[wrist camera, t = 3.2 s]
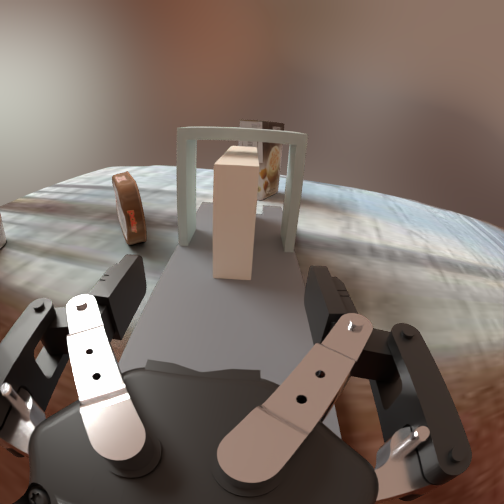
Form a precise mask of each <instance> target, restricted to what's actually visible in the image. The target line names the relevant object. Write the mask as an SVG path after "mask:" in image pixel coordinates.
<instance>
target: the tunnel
mask: <svg viewBox="0 0 504 504" xmlns="http://www.w3.org/2000/svg"><path fill="white" fill-rule="evenodd" d="M307 138H308V135H307V134H303V133H298V132H290V131H280V130H268V129H254V128H235V127H182V128H177V214H178V237H179V246H188V245H189V242H190V240H191V238H192V236H193V234H194V232H195V230H196V148H197V140H236V141H254V142H268V143H280V144H290V147H289V157H288V167H287V177H286V187H285V197H284V206H283V215H282V224H281V233H280V234H281V239H282V243H283V248H284V252H294V245H295V238H296V231H297V224H298V216H299V209H300V201H301V193H302V185H303V176H304V167H305V158H306V149H307Z"/></svg>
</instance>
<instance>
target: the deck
mask: <svg viewBox="0 0 504 504" xmlns="http://www.w3.org/2000/svg"><path fill="white" fill-rule="evenodd" d="M282 215H283V211H282V208H281V207H278V206H264V205H263V213H262V214H256V219H255V232H254V246H253V259H252V273H251V280H238V279H222V278H213V203H210V202H202V204H201V206H200V207H199V209H198V211H197V212H196V230H195V232H194V234H193V236H192V238H191V240H190V242H189V245H188V246H179V243H178V245H177V247H176V249H175V251H174V252H173V254H172V256H171V258H170V260H169V261H168V263H167V265H166V267H165V269H164V271H163V273H162V274H161V276H160V278H159V280H158V282H157V284H156V286H155V288H154V290H153V292H152V294H151V296H150V298H149V300H148V302H147V304H146V306H145V308H144V310H143V312H142V314H141V316H140V318H139V320H138V322H137V324H136V326H135V328H134V330H133V332H132V334H131V337H130V339H129V341H128V343H127V345H126V347H125V350H124V352H123V354H122V356H121V359H120V361H119V363H118V365H119V367H120V370H121V372H122V373H123V372H125V371H128V370H131V369H135V368H141V367H145V366H146V363H147V360H148V359H149V360H156V361H162V362H169V363H175V364H178V365H181V366H184V367H187V368H190V369H193V370H196V371H199V372H209V371H217V370H226V369H247V370H260V375H261V378H262V379H266V380H269V381H272V382H274V383H276V384H278V385H281V384H282V383H283V382H284V381H285V379H286V378H287V377H288V376H289V375H290V374H291V373H292V371H293V370H294V369H295V368H296V367H297V365H298V364H299V363H300V362H301V361H302V360H303V358H304V357H305V356H306V355H307V353H308V352H309V351H310V350H311V349H312V347H313V346H314V345H313V340H312V336H311V332H310V327H309V323H308V319H307V315H306V311H305V306H304V294H305V285H304V282H303V278H302V274H301V271H300V267H299V264H298V260H297V257H296V254H295V250H294V252H284V248H283V243H282V239H281V234H280V233H281V224H282ZM323 424H324V425H326V426H327V427H328V428H329V429H330V430H331V431H332V432H334V433H335V434H336V435H337V436H338V437H339V438H341V434H340V429H339V424H338V419H337V415H336V410H335V405H333V407H332V409H331V410H330V412H329V414H328V415H327V417H326V418H325V420H324V421H323Z"/></svg>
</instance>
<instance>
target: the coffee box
mask: <svg viewBox="0 0 504 504" xmlns="http://www.w3.org/2000/svg"><path fill="white" fill-rule="evenodd" d="M240 128H254V129H268V130H280V131H284V124H283V123H277V122H269V121H258V120H240ZM282 145H283V144H280V143H268V142H254V141H239V145H238V146H245V147H257V153H258V160H259V178H258V192H257V200H263V199H265V198H267V197H269V196H271V195H273V194H275V193H277V192H278V187H279V176H280V167H281V156H282Z"/></svg>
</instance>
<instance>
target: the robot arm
mask: <svg viewBox="0 0 504 504" xmlns="http://www.w3.org/2000/svg"><path fill="white" fill-rule="evenodd" d="M5 243H6V237H5V232H4V228H3V224H2V219H1V214H0V248H2V247H3V245H4V244H5ZM145 293H146V278H145V272H144V265H143V259H142V257H141V256H140V255H128V254H127V255H125V256H124V257H123V259H122V260H121V261H120V262H119V264H117V263H116V264H115V265H113V266H112V267H110V268H109V269H108V270H107V271H106V272H105V273H104V276H102V277H101V278H100V281H98V282H97V283H96V284H95V286H94V287H93V288H92V289H91V291H90V292H89V293H88V295H79V296H76V297H74V298H73V299H71V300H70V301H69V302H68V304H67V307H57V308H54V306H53V303H52V301H51V300H50V299H49V298H39V299H36V300H34V301H33V302H32V303H30V305H29V306H28V307H27V308H26V309H25V311H24V312H23V313H22V315H21V316H20V317H19V318H18V320H17V321H16V322H15V324H14V325H13V326H12V328H11V329H10V331H9V332H8V333H7V335H6V336H5V338H4V339H3V340H2V342H1V343H0V445H1V446H2V447H4V448H6V449H7V450H8V451H9V452H11V453H12V454H13V455H15V456H17V457H24V456H26V457H28V458H29V462H30V481H29V486H28V489H27V491H26V493H25V494H24V495H23V496H22V497H21V498H20V499H19V500H18V501H16V502H15V503H13V504H379V503H383V502H387V501H390V500H394V499H398V498H399V499H400V500H403V501H411V500H414V499H416V498H418V497H420V496H422V495H424V494H426V493H428V492H430V491H432V490H434V489H436V488H437V487H439V486H441V485H443V484H445V483H446V482H448V481H450V480H451V479H453V478H455V477H456V476H458V475H460V474H461V473H463V472H464V471H465V470H466V469H467V468H468V467H469V465H470V462H471V458H472V452H471V448H470V445H469V442H468V439H467V436H466V433H465V431H464V428H463V425H462V423H461V420H460V417H459V415H458V412H457V410H456V407H455V405H454V402H453V400H452V398H451V395H450V393H449V391H448V389H447V386H446V384H445V382H444V380H443V378H442V375H441V373H440V371H439V369H438V367H437V365H436V363H435V361H434V359H433V357H432V355H431V353H430V351H429V349H428V347H427V345H426V343H425V341H424V339H423V338H422V336H421V334H420V332H419V331H418V330H417V329H416V328H415V327H413V326H411V325H409V324H405V323H399V324H396V325H394V326H393V328H392V330H391V332H388V331H383V330H378V329H374V328H373V326H372V323H371V322H370V321H369V319H367V318H366V317H364V316H362V315H360V314H358V313H357V311H356V308H355V306H354V304H353V302H352V300H351V298H350V297H349V294H348V292H347V290H346V288H345V286H344V283H343V282H341V281H340V280H339V279H338V278H337V277H331V275H330V273H329V271H328V268H327V267H326V266H310V268H309V273H308V278H307V283H306V288H305V294H304V306H305V311H306V315H307V319H308V323H309V327H310V332H311V336H312V340H313V345H314V346H313V347H312V349H311V350H310V351H309V352H308V353H307V355H306V356H305V357H304V358H303V360H302V361H301V362H300V363H299V364H298V365H297V367H296V368H295V369H294V370H293V371H292V373H291V374H290V375H289V376H288V377H287V378H286V379H285V381H284V382H283V383H282V384H281V385H278V384H276V383H274V382H272V381H269V380H266V379H262V378H261V375H260V370H247V369H226V370H217V371H209V372H199V371H196V370H193V369H190V368H187V367H184V366H181V365H178V364H175V363H169V362H162V361H156V360H149V359H148V360H147V363H146V366H145V367H141V368H135V369H131V370H128V371H125V372H123V373H122V372H121V370H120V367H119V365H118V362H117V360H116V357H115V354H114V352H113V349H112V346H111V344H110V342H111V340H112V339H117V340H122V338H123V336H124V334H125V332H126V330H127V328H128V326H129V324H130V322H131V320H132V318H133V316H134V315H135V313H136V311H137V309H138V307H139V305H140V303H141V301H142V299H143V298H144V296H145ZM40 340H41V342H42V344H43V346H44V347H43V349H42V350H41V352H40V354H39V355H38V357H37V359H36V361H35V359H34V349H35V347H36V345H37V344H38V342H39V341H40ZM69 358H70V359H71V364H72V369H73V374H74V378H75V382H76V387H77V391H78V395H79V398H80V399H79V400H77V401H75V402H74V403H72V404H70V405H69V406H67V407H65V408H64V409H62V410H60V411H59V412H57V413H55V414H54V415H52V416H50V417H48V418H47V419H45V413H44V412H45V410H46V407H47V405H48V402H49V400H50V398H51V395H52V393H53V391H54V389H55V387H56V384H57V382H58V380H59V378H60V376H61V374H62V372H63V370H64V368H65V366H66V363H67V361H68V360H69ZM351 376H354V377H359V378H365V379H369V381H370V385H371V388H372V392H373V396H374V400H375V404H376V408H377V412H378V416H379V420H380V424H381V429H382V433H383V438H384V442H385V443H384V444H383V445H382V446H381V447H380V448H379V450H378V452H377V457H376V460H377V463H376V467H375V469H374V468H373V467H372V466H371V464H370V463H369V462H368V461H367V460H366V459H365V458H363V457H362V456H361V455H360V454H358V453H357V452H356V451H355V450H354V449H352V448H351V447H350V446H349V445H348V444H346V443H345V442H344V441H343V440H342V439H341V438H339V437H338V436H337V435H336V434H335V433H334V432H332V431H331V430H330V429H329V428H328V427H327V426H326V425H324V424H323V421H324V420H325V418H326V417H327V415H328V414H329V412H330V410H331V409H332V407H333V405H334V404H335V402H336V401H337V399H338V397H339V396H340V394H341V392H342V391H343V389H344V387H345V386H346V384H347V382H348V381H349V379H350V377H351Z"/></svg>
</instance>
